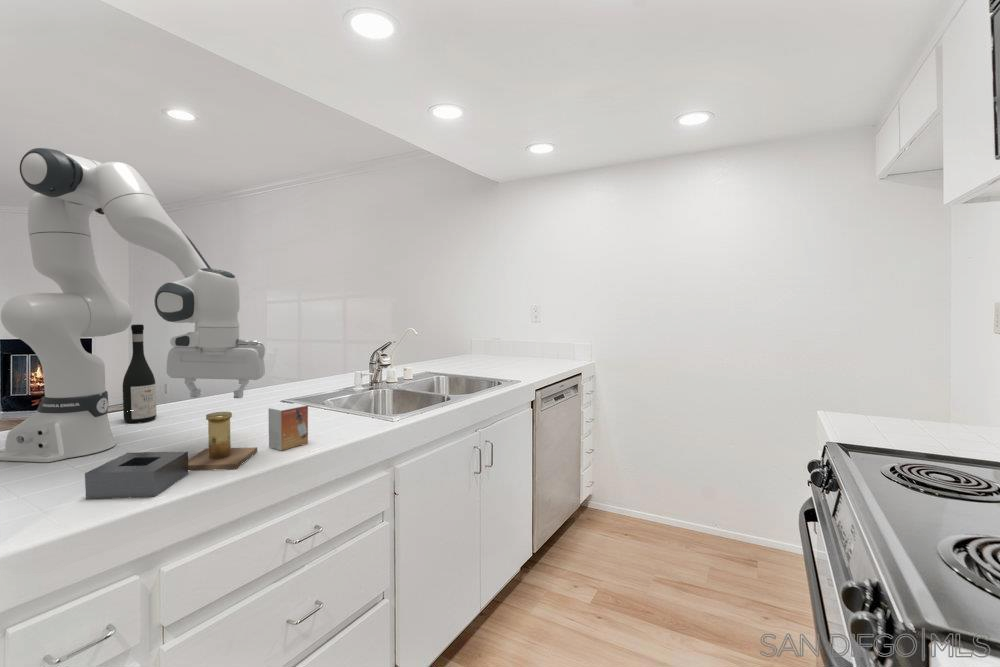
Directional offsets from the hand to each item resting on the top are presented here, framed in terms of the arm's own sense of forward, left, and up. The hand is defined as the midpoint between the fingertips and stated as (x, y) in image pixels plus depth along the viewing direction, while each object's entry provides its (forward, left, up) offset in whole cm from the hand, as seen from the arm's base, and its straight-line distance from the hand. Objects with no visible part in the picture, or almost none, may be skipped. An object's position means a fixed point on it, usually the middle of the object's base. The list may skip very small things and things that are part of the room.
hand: (217, 397), depth 108 cm
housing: (-8, -14, -15) cm, 22 cm away
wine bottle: (-40, +40, -15) cm, 59 cm away
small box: (+13, +11, -15) cm, 23 cm away
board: (+1, 0, -15) cm, 15 cm away
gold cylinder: (0, 0, -14) cm, 14 cm away
